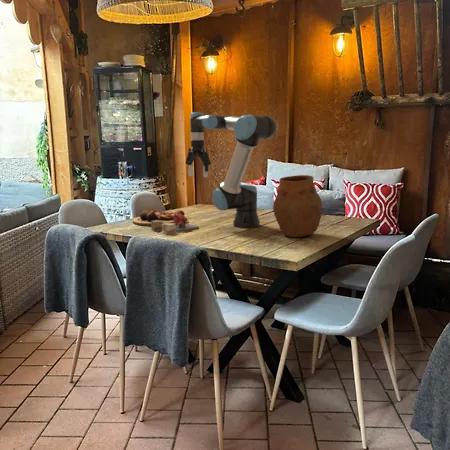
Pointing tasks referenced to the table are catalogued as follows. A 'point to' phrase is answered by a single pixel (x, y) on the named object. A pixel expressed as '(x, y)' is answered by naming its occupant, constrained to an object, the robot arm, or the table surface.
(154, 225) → the walnut block
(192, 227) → the slate mat
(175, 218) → the flower
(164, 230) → the beech block
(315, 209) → the pot
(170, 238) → the table surface
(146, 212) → the wooden plate with food
